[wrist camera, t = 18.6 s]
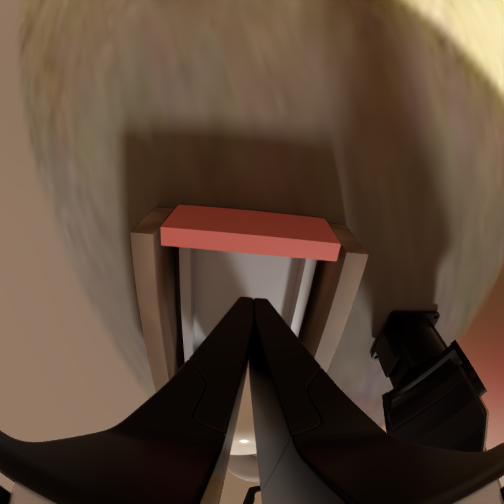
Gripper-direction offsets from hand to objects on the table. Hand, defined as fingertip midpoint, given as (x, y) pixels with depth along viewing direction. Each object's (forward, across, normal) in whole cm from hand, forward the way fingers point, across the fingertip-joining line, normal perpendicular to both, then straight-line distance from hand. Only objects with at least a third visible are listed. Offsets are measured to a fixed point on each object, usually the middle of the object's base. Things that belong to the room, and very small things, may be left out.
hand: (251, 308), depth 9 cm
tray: (+13, 0, +9) cm, 16 cm away
